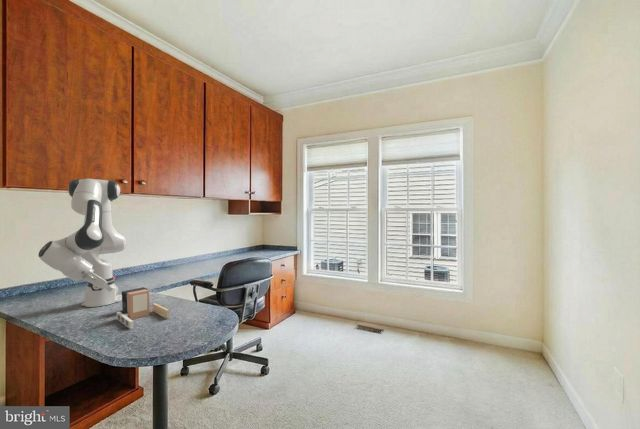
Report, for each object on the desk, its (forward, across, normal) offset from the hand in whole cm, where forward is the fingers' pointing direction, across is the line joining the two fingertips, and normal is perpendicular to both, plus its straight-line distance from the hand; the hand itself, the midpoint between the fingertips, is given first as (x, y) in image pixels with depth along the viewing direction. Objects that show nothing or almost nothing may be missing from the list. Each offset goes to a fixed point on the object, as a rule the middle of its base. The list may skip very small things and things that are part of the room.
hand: (108, 288), depth 133 cm
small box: (+22, +13, +1) cm, 25 cm away
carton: (+20, 0, +3) cm, 20 cm away
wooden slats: (+19, -6, +3) cm, 21 cm away
